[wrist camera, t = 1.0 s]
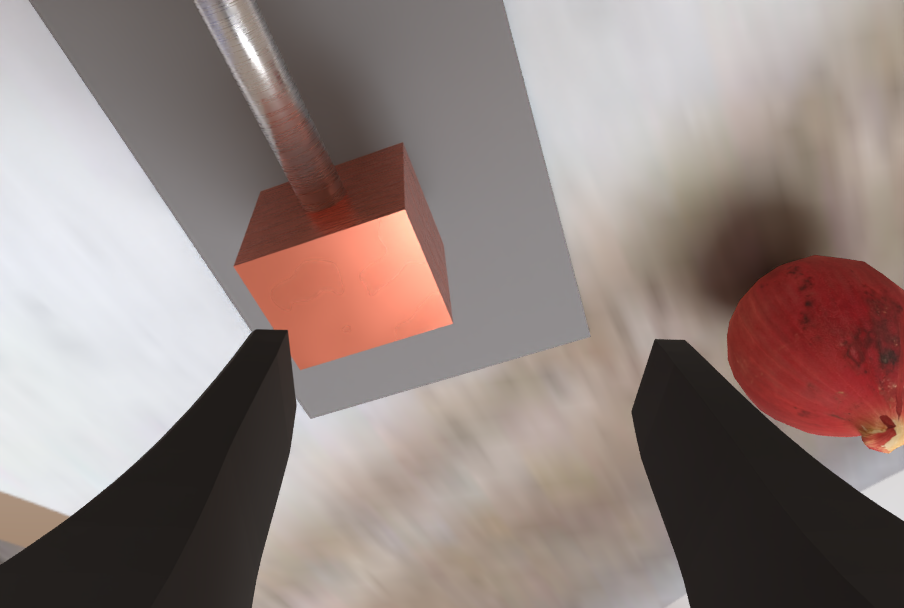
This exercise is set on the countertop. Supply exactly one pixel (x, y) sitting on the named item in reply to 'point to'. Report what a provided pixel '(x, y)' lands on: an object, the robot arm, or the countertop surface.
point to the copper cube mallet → (328, 218)
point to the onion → (824, 349)
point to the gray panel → (348, 137)
